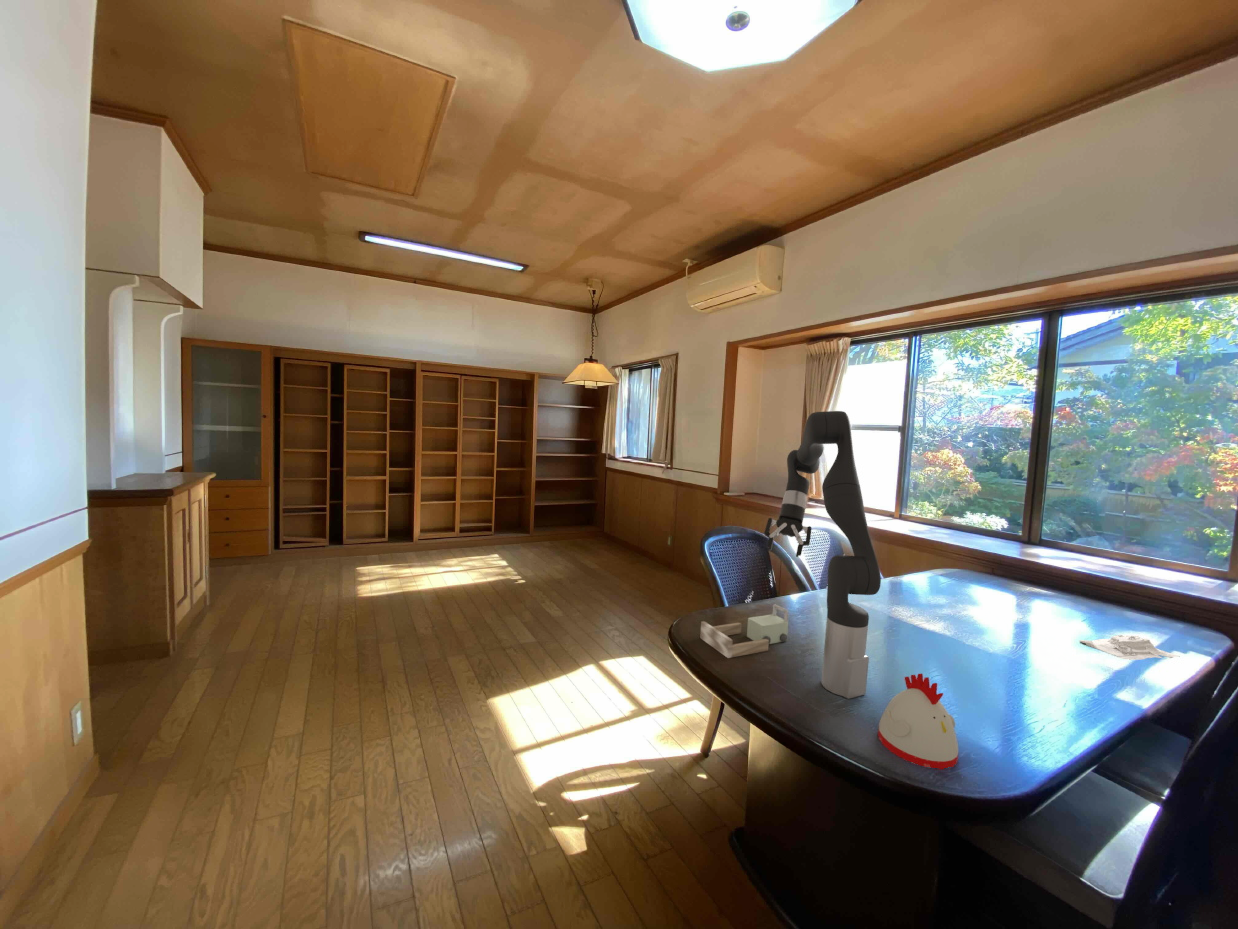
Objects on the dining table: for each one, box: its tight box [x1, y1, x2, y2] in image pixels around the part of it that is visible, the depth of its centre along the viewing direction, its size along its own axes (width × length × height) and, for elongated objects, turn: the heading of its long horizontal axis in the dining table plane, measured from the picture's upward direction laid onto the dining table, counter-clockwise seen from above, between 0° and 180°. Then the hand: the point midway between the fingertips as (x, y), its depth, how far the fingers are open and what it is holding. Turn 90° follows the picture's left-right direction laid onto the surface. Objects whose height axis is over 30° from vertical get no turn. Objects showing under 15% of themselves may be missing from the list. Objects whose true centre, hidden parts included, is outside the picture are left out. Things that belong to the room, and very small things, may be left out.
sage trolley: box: [746, 603, 789, 645], centre depth 148 cm, size 8×10×10 cm
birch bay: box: [699, 620, 770, 659], centre depth 143 cm, size 13×14×5 cm
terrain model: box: [1079, 634, 1179, 661], centre depth 154 cm, size 17×23×5 cm
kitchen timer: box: [877, 673, 959, 770], centre depth 99 cm, size 14×14×15 cm
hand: (783, 553), depth 159 cm, fingers open, 8 cm apart
